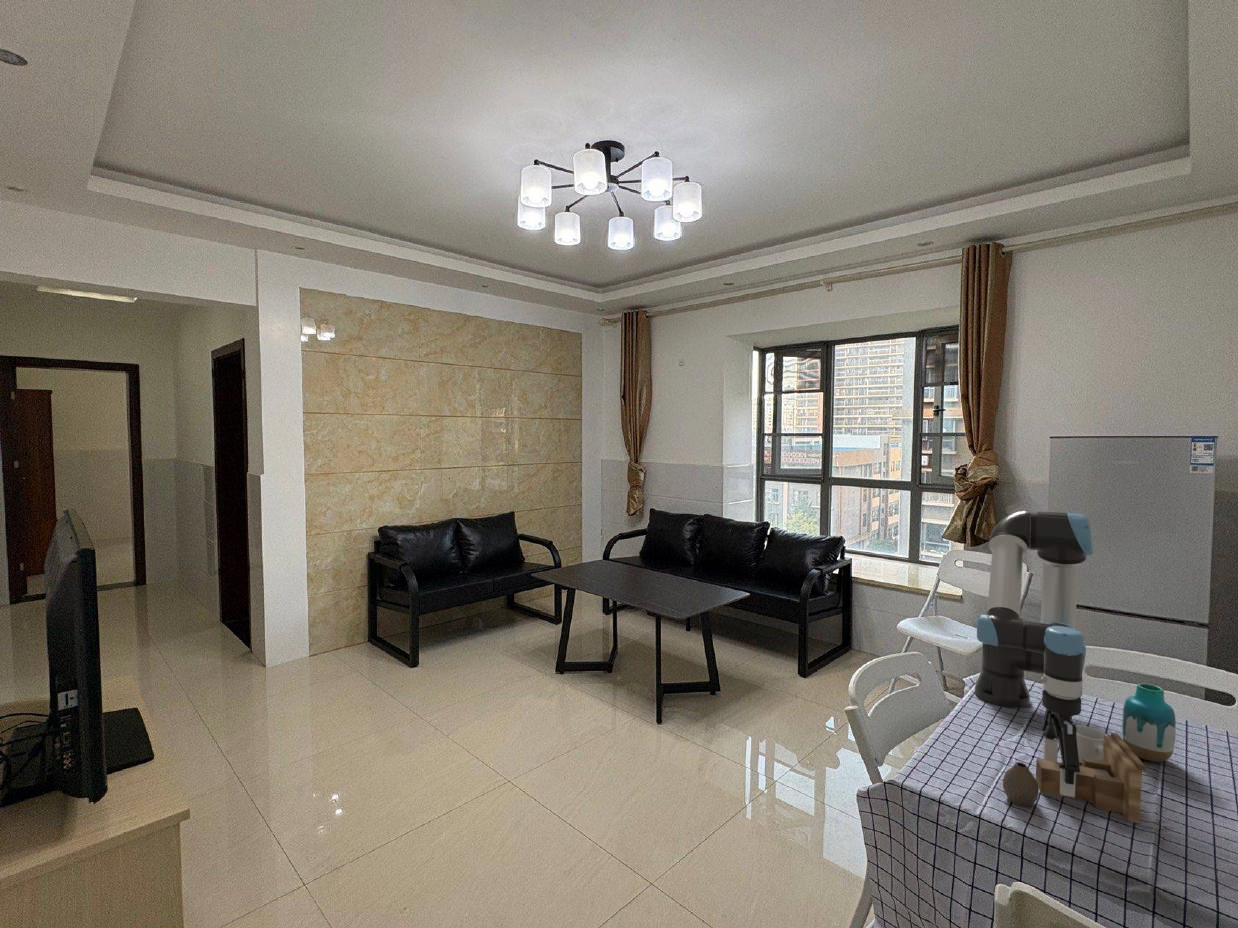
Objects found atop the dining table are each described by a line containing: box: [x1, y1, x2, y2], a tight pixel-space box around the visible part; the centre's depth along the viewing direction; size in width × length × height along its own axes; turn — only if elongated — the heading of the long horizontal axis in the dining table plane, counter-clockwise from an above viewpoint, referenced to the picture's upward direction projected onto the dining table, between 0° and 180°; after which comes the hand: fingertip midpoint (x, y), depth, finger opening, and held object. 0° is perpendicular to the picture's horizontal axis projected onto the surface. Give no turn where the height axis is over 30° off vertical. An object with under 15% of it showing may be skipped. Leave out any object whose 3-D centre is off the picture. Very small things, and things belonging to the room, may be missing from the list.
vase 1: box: [1002, 761, 1040, 807], centre depth 140 cm, size 7×7×9 cm
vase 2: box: [1121, 682, 1177, 763], centre depth 160 cm, size 11×11×19 cm
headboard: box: [1081, 731, 1147, 824], centre depth 141 cm, size 16×8×13 cm, turn 158°
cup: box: [1076, 725, 1109, 764], centre depth 156 cm, size 11×8×8 cm
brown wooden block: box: [1035, 758, 1111, 803], centre depth 144 cm, size 14×5×6 cm, turn 68°
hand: (1058, 779), depth 145 cm, fingers open, 13 cm apart
